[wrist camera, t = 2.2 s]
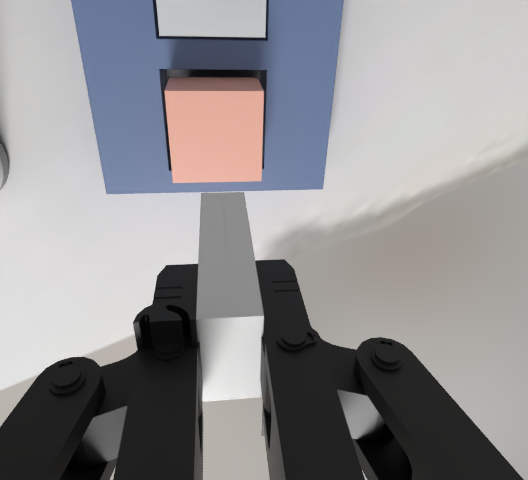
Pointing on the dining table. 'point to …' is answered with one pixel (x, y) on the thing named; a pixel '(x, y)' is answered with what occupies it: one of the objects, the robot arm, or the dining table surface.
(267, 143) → the board
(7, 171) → the travel mug
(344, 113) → the dining table surface
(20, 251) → the dining table surface
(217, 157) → the key coral
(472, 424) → the robot arm
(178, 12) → the key grey
